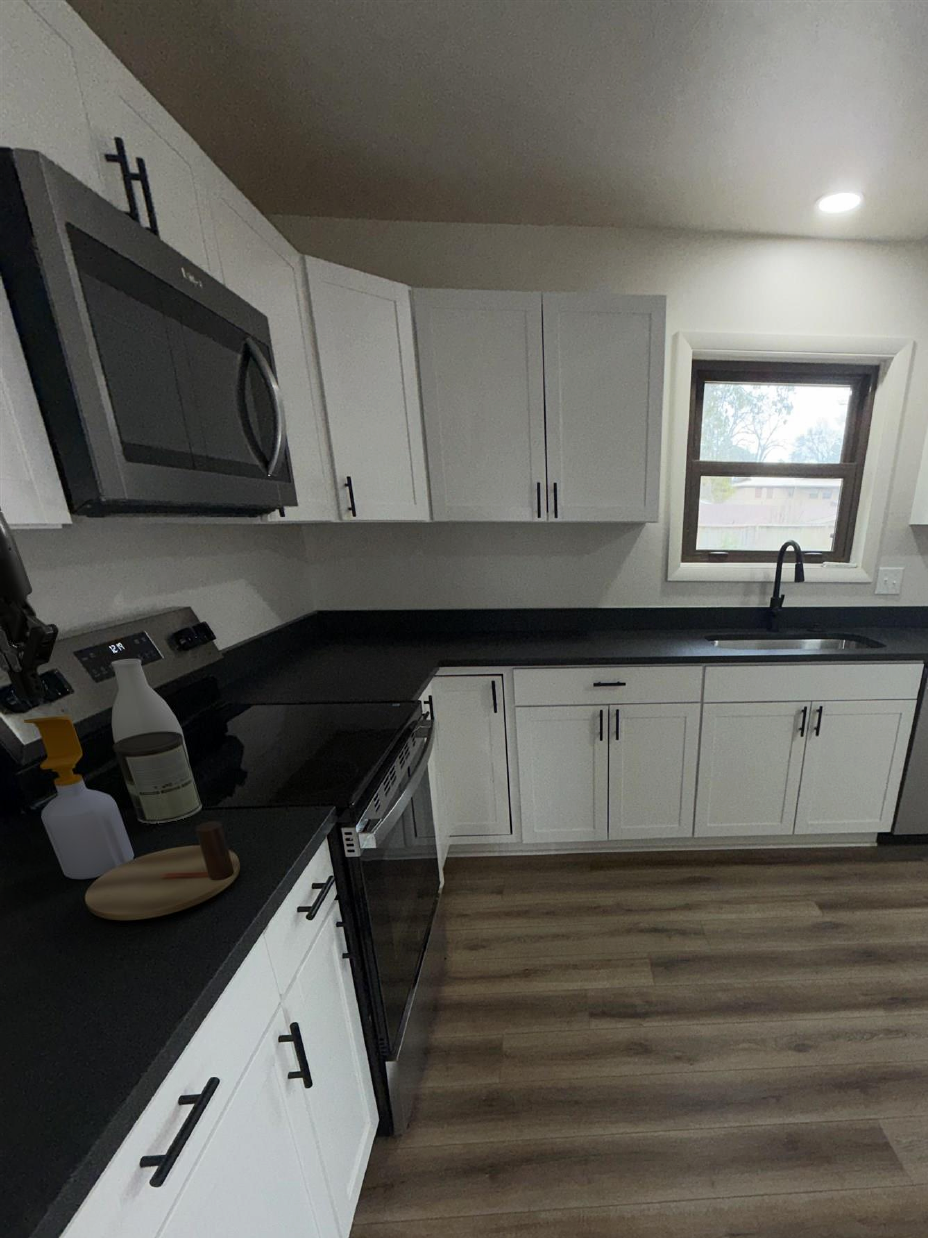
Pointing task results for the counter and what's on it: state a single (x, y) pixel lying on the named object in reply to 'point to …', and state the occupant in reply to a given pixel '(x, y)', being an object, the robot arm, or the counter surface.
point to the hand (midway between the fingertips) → (32, 698)
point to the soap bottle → (79, 809)
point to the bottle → (139, 704)
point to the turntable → (166, 879)
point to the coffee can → (158, 776)
